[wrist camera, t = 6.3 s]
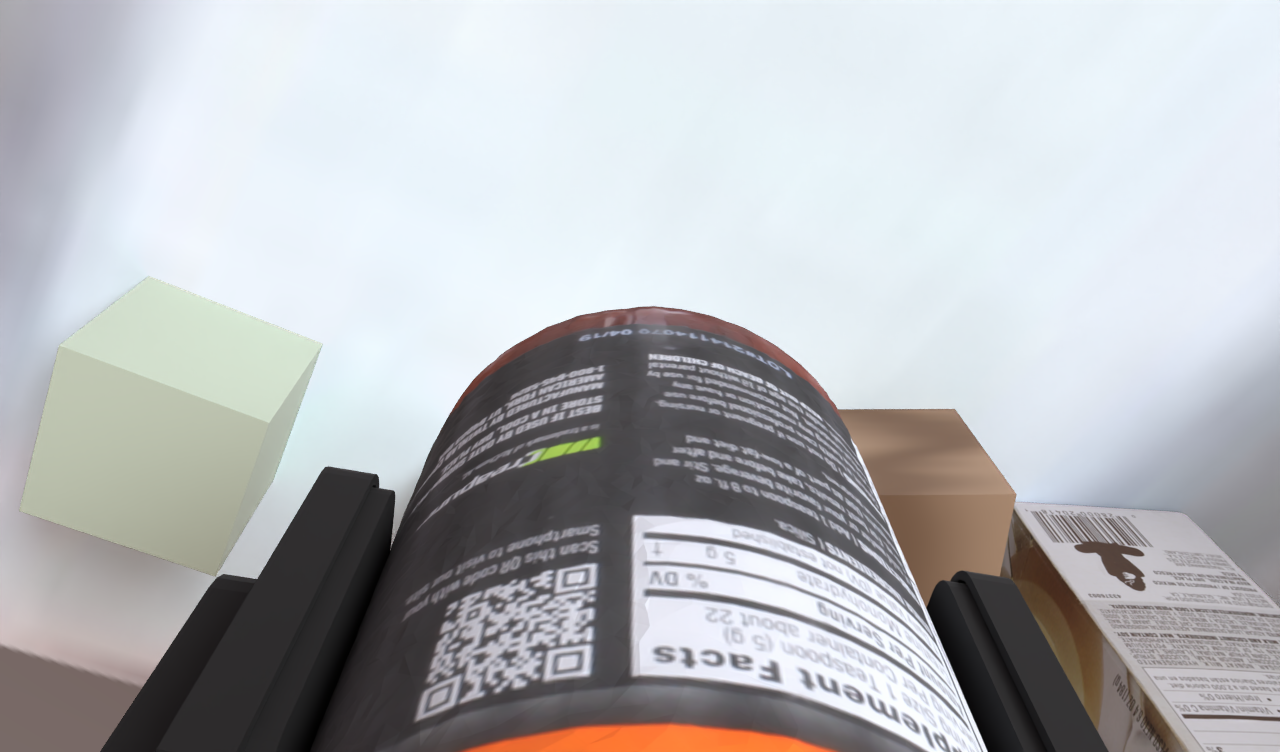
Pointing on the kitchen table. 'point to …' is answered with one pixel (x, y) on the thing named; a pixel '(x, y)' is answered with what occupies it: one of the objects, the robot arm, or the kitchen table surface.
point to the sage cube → (167, 424)
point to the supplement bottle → (646, 565)
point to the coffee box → (1151, 627)
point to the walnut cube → (935, 491)
